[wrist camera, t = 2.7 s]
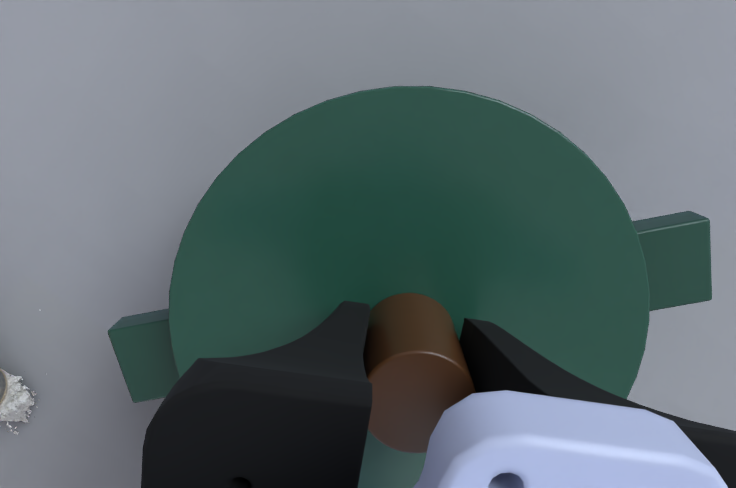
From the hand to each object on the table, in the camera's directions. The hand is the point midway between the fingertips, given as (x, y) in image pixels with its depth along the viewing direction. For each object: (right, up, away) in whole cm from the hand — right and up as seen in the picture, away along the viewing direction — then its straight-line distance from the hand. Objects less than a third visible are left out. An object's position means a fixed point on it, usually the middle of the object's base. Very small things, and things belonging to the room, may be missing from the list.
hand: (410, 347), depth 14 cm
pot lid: (0, 0, +1) cm, 1 cm away
